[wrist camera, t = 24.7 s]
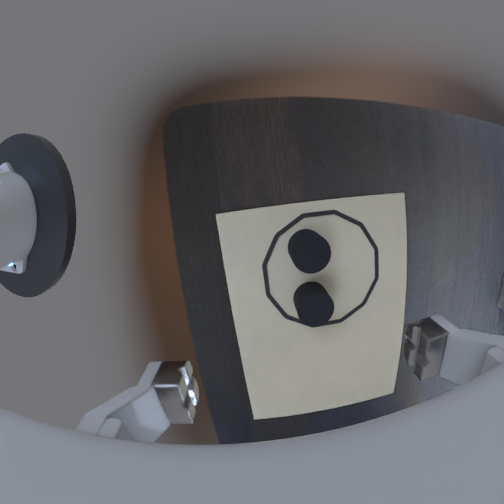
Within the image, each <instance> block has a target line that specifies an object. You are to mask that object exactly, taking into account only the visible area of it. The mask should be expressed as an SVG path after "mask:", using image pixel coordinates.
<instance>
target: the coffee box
mask: <svg viewBox="0 0 504 504" xmlns="http://www.w3.org/2000/svg"><path fill="white" fill-rule="evenodd" d="M497 307H499V308H501V309H502V310H504V276H503V281H502V286H501V290H500V294H499V298H498V302H497Z"/></svg>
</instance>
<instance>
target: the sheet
mask: <svg viewBox="0 0 504 504" xmlns="http://www.w3.org/2000/svg"><path fill="white" fill-rule="evenodd" d="M216 220H217V226H218V232H219V238H220V244H221V250H222V256H223V262H224V268H225V274H226V280H227V285H228V291H229V296H230V302H231V307H232V313H233V318H234V323H235V329H236V334H237V339H238V344H239V349H240V354H241V359H242V364H243V369H244V374H245V379H246V384H247V389H248V393H249V398H250V403H251V407H252V412H253V417H254V419H265V418H274V417H282V416H290V415H297V414H303V413H310V412H315V411H321V410H326V409H331V408H336V407H341V406H345V405H350V404H354V403H358V402H362V401H366V400H370V399H373V398H377V397H381V396H384V395H387V394H391V393H393V392H394V386H395V381H396V376H397V370H398V363H399V357H400V350H401V342H402V334H403V324H404V313H405V299H406V278H407V231H406V210H405V196H404V193H391V194H378V195H367V196H356V197H346V198H336V199H327V200H318V201H309V202H300V203H292V204H284V205H276V206H269V207H261V208H254V209H247V210H240V211H233V212H226V213H220V214H216ZM302 229H311V230H313V231H315V232H317V233H318V234H319V235H321V236H322V237H324V238H325V239H326V240H327V241H328V243H329V245H330V248H331V258H330V261H329V263H328V265H327V266H326V267H325V268H324V269H323V270H321V271H320V272H317V273H313V274H308V273H304V272H302V271H300V270H299V269H297V268H296V266H295V265H294V263H293V261H292V259H291V257H290V255H289V253H288V242H289V240H290V238H291V236H292V235H293V234H294V233H295V232H297V231H299V230H302ZM310 281H313V282H318V283H320V284H321V285H322V286H323V287H324V288H325V289H326V291H327V292H328V294H329V295H330V297H331V298H332V300H333V302H334V312H333V315H332V317H331V318H330V319H329V320H328V321H327V322H326V323H325V324H323V325H320V326H316V327H312V326H307V325H305V324H304V323H302V322H301V321H300V319H299V317H298V314H297V311H296V308H295V305H294V302H293V296H294V293H295V291H296V289H297V288H298V287H299V286H300V285H301V284H303V283H306V282H310Z"/></svg>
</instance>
